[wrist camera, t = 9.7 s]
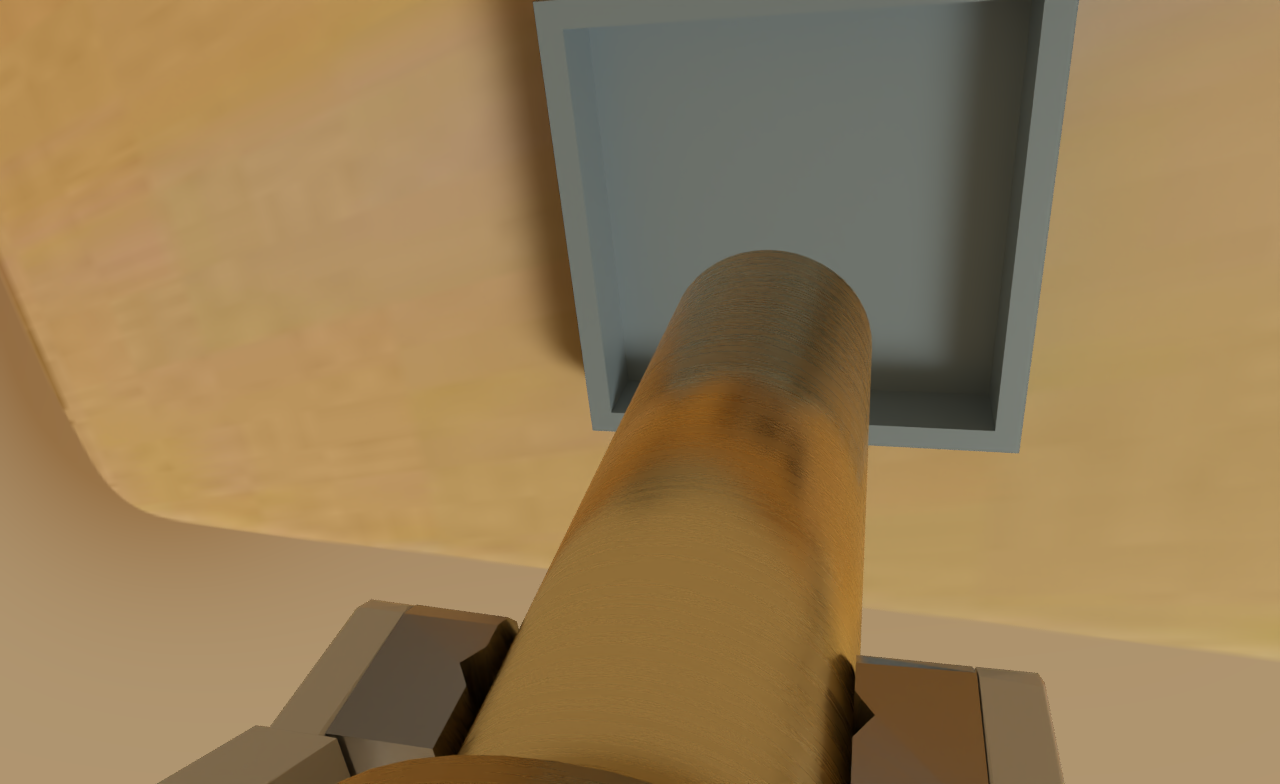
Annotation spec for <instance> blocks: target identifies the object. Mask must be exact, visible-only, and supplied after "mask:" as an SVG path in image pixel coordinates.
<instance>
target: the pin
mask: <svg viewBox="0 0 1280 784" xmlns="http://www.w3.org/2000/svg"><path fill="white" fill-rule="evenodd" d="M871 360H872V334H871V329H870V323H869V320H868V317H867V314H866V311H865V309H864V307H863V305H862V303H861V302H860V300H859V298H858V297H857V295H856V294H855V292H854V291H853V290H852V288H851V287H850V286H849V285H848V284H847V283H846V282H845V281H844V280H843V279H842V278H841V277H840V276H838V275H837V274H836V273H835V272H834V271H832V270H831V269H829V268H828V267H826V266H824V265H823V264H821V263H819V262H817V261H815V260H813V259H811V258H808V257H805V256H802V255H799V254H796V253H791V252H786V251H779V250H756V251H749V252H744V253H739V254H736V255H733V256H730V257H727V258H725V259H723V260H721V261H719V262H717V263H715V264H714V265H712V266H711V267H709V268H707V269H706V270H705V271H704V272H702V273H701V274H700V275H699V276H698V277H697V278H696V279H695V280H694V281H693V282H692V283H691V284H690V286H689V287H688V288H687V290H686V291H685V293H684V294H683V296H682V298H681V300H680V302H679V304H678V306H677V308H676V310H675V312H674V314H673V316H672V318H671V320H670V322H669V324H668V326H667V328H666V330H665V332H664V334H663V336H662V338H661V340H660V342H659V345H658V347H657V349H656V351H655V353H654V355H653V357H652V359H651V361H650V363H649V365H648V367H647V369H646V371H645V373H644V375H643V377H642V379H641V381H640V383H639V385H638V387H637V389H636V392H635V394H634V396H633V398H632V400H631V402H630V404H629V406H628V408H627V410H626V412H625V414H624V416H623V418H622V420H621V422H620V424H619V426H618V428H617V430H616V432H615V434H614V436H613V439H612V441H611V443H610V445H609V447H608V449H607V451H606V453H605V455H604V457H603V459H602V461H601V463H600V465H599V467H598V469H597V471H596V473H595V475H594V477H593V479H592V481H591V483H590V486H589V488H588V490H587V492H586V494H585V496H584V498H583V500H582V502H581V504H580V506H579V508H578V510H577V512H576V514H575V516H574V518H573V520H572V522H571V524H570V526H569V528H568V530H567V532H566V535H565V537H564V539H563V541H562V543H561V545H560V547H559V549H558V551H557V553H556V555H555V557H554V559H553V561H552V563H551V565H550V567H549V569H548V572H547V573H546V576H545V578H544V580H543V582H542V584H541V586H540V588H539V590H538V592H537V594H536V596H535V598H534V600H533V602H532V604H531V606H530V608H529V610H528V612H527V614H526V616H525V618H524V620H523V622H522V625H521V626H520V629H519V631H518V633H517V635H516V637H515V639H514V641H513V643H512V645H511V647H510V649H509V651H508V653H507V655H506V657H505V659H504V661H503V663H502V665H501V667H500V669H499V671H498V673H497V676H496V678H495V680H494V682H493V684H492V686H491V688H490V690H489V692H488V694H487V696H486V698H485V700H484V702H483V704H482V706H481V708H480V710H479V712H478V714H477V716H476V718H475V720H474V723H473V725H472V727H471V729H470V731H469V733H468V735H467V737H466V739H465V741H464V743H463V745H462V747H461V749H460V751H459V753H458V755H448V756H439V757H429V758H420V759H410V760H405V761H401V762H397V763H393V764H389V765H384V766H380V767H376V768H372V769H369V770H367V771H364V772H362V773H359V774H357V775H354V776H352V777H350V778H347V779H345V780H342V781H340V782H338V783H337V784H850V776H851V757H852V739H853V733H852V728H853V708H854V689H855V670H856V655H860V648H861V623H862V597H863V570H864V544H865V518H866V491H867V465H868V439H869V412H870V386H871Z"/></svg>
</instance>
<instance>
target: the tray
mask: <svg viewBox="0 0 1280 784" xmlns="http://www.w3.org/2000/svg"><path fill="white" fill-rule="evenodd" d="M1078 3H1079V0H537V1H534V2H533V7H534V14H535V21H536V28H537V35H538V42H539V50H540V57H541V64H542V71H543V78H544V85H545V92H546V100H547V107H548V114H549V121H550V128H551V135H552V142H553V149H554V157H555V164H556V171H557V178H558V185H559V192H560V199H561V207H562V214H563V221H564V228H565V235H566V242H567V249H568V257H569V264H570V271H571V278H572V285H573V292H574V299H575V306H576V314H577V321H578V328H579V335H580V342H581V349H582V356H583V364H584V371H585V378H586V385H587V392H588V399H589V406H590V413H591V421H592V428H593V430H596V431H615V432H616V430H617V428H618V426H619V424H620V422H621V420H622V418H623V416H624V414H625V412H626V410H627V408H628V406H629V404H630V402H631V400H632V398H633V396H634V394H635V392H636V389H637V387H638V385H639V383H640V381H641V379H642V377H643V375H644V373H645V371H646V369H647V367H648V365H649V363H650V361H651V359H652V357H653V355H654V353H655V351H656V349H657V347H658V345H659V342H660V340H661V338H662V336H663V334H664V332H665V330H666V328H667V326H668V324H669V322H670V320H671V318H672V316H673V314H674V312H675V310H676V308H677V306H678V304H679V302H680V300H681V298H682V296H683V294H684V293H685V291H686V290H687V288H688V287H689V286H690V284H691V283H692V282H693V281H694V280H695V279H696V278H697V277H698V276H699V275H700V274H701V273H702V272H704V271H705V270H706V269H707V268H709V267H711V266H712V265H714V264H715V263H717V262H719V261H721V260H723V259H725V258H727V257H730V256H733V255H736V254H739V253H744V252H749V251H756V250H779V251H786V252H791V253H796V254H799V255H802V256H805V257H808V258H811V259H813V260H815V261H817V262H819V263H821V264H823V265H824V266H826V267H828V268H829V269H831V270H832V271H834V272H835V273H836V274H837V275H838V276H840V277H841V278H842V279H843V280H844V281H845V282H846V283H847V284H848V285H849V286H850V287H851V288H852V290H853V291H854V292H855V294H856V295H857V297H858V298H859V300H860V302H861V303H862V305H863V307H864V309H865V311H866V314H867V317H868V320H869V323H870V329H871V334H872V360H871V386H870V412H869V439H868V445H875V446H893V447H912V448H931V449H949V450H968V451H986V452H1005V453H1019V449H1020V442H1021V434H1022V427H1023V419H1024V411H1025V404H1026V396H1027V389H1028V381H1029V374H1030V366H1031V358H1032V351H1033V343H1034V336H1035V328H1036V321H1037V313H1038V306H1039V298H1040V290H1041V283H1042V275H1043V268H1044V260H1045V253H1046V245H1047V237H1048V230H1049V222H1050V215H1051V207H1052V200H1053V192H1054V184H1055V177H1056V169H1057V162H1058V154H1059V147H1060V139H1061V131H1062V124H1063V116H1064V109H1065V101H1066V94H1067V86H1068V78H1069V71H1070V63H1071V56H1072V48H1073V41H1074V33H1075V25H1076V18H1077V10H1078Z"/></svg>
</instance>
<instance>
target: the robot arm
mask: <svg viewBox="0 0 1280 784" xmlns="http://www.w3.org/2000/svg"><path fill="white" fill-rule="evenodd" d="M518 631H519V629H518V625H517V622H516V621H515V620H512V619H510V618H508V617H502V616H495V615H488V614H480V613H473V612H466V611H459V610H451V609H443V608H437V607H429V606H422V605H408V604H401V603H394V602H386V601H379V600H370V601H368V602H366V603H364V604H363V605H361V606H359V607H358V608H357V609H356V610H355V611H354V613H353V614H352V615H351V616H350V618H349V619H348V621H347V622H346V623H345V625H344V626H343V627H342V629H341V630H340V632H339V633H338V634H337V636H336V637H335V638H334V640H333V641H332V643H331V644H330V645H329V647H328V648H327V649H326V651H325V652H324V654H323V655H322V656H321V658H320V659H319V660H318V662H317V663H316V664H315V666H314V667H313V669H312V670H311V671H310V673H309V674H308V675H307V677H306V678H305V679H304V681H303V682H302V684H301V685H300V686H299V688H298V689H297V690H296V692H295V693H294V695H293V696H292V697H291V699H290V700H289V701H288V703H287V704H286V706H285V707H284V708H283V710H282V711H281V712H280V714H279V715H278V717H277V718H276V719H275V721H274V722H273V723H272V725H271V726H270V727H265V726H254V727H252V728H250V729H249V730H247V731H245V732H244V733H242V734H240V735H239V736H237V737H235V738H234V739H232V740H230V741H228V742H227V743H225V744H223V745H222V746H220V747H218V748H217V749H215V750H213V751H212V752H210V753H208V754H206V755H205V756H203V757H201V758H200V759H198V760H197V761H195V762H193V763H191V764H189V765H188V766H186V767H184V768H183V769H181V770H179V771H178V772H176V773H174V774H173V775H171V776H169V777H168V778H166V779H164V780H162V781H161V782H159V783H157V784H337V783H338V782H340V781H342V780H345V779H347V778H350V777H352V776H354V775H357V774H359V773H362V772H364V771H367V770H369V769H372V768H376V767H380V766H384V765H389V764H393V763H397V762H401V761H405V760H410V759H420V758H429V757H439V756H448V755H458V753H459V751H460V749H461V747H462V745H463V743H464V741H465V739H466V737H467V735H468V733H469V731H470V729H471V727H472V725H473V723H474V720H475V718H476V716H477V714H478V712H479V710H480V708H481V706H482V704H483V702H484V700H485V698H486V696H487V694H488V692H489V690H490V688H491V686H492V684H493V682H494V680H495V678H496V676H497V673H498V671H499V669H500V667H501V665H502V663H503V661H504V659H505V657H506V655H507V653H508V651H509V649H510V647H511V645H512V643H513V641H514V639H515V637H516V635H517V633H518ZM852 733H853V739H852V757H851V776H850V784H1064V778H1063V773H1062V768H1061V764H1060V758H1059V753H1058V748H1057V743H1056V737H1055V732H1054V727H1053V722H1052V717H1051V713H1050V707H1049V702H1048V696H1047V692H1046V686H1045V683H1044V681H1043V680H1042V678H1041V677H1040V675H1039V674H1038V673H1031V672H1021V671H1011V670H1001V669H991V668H981V667H976V668H975V669H974V668H973V667H971V666H961V665H951V664H942V663H941V664H940V663H932V662H922V661H911V660H901V659H892V658H882V657H871V656H862V655H856V670H855V689H854V708H853V728H852Z"/></svg>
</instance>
